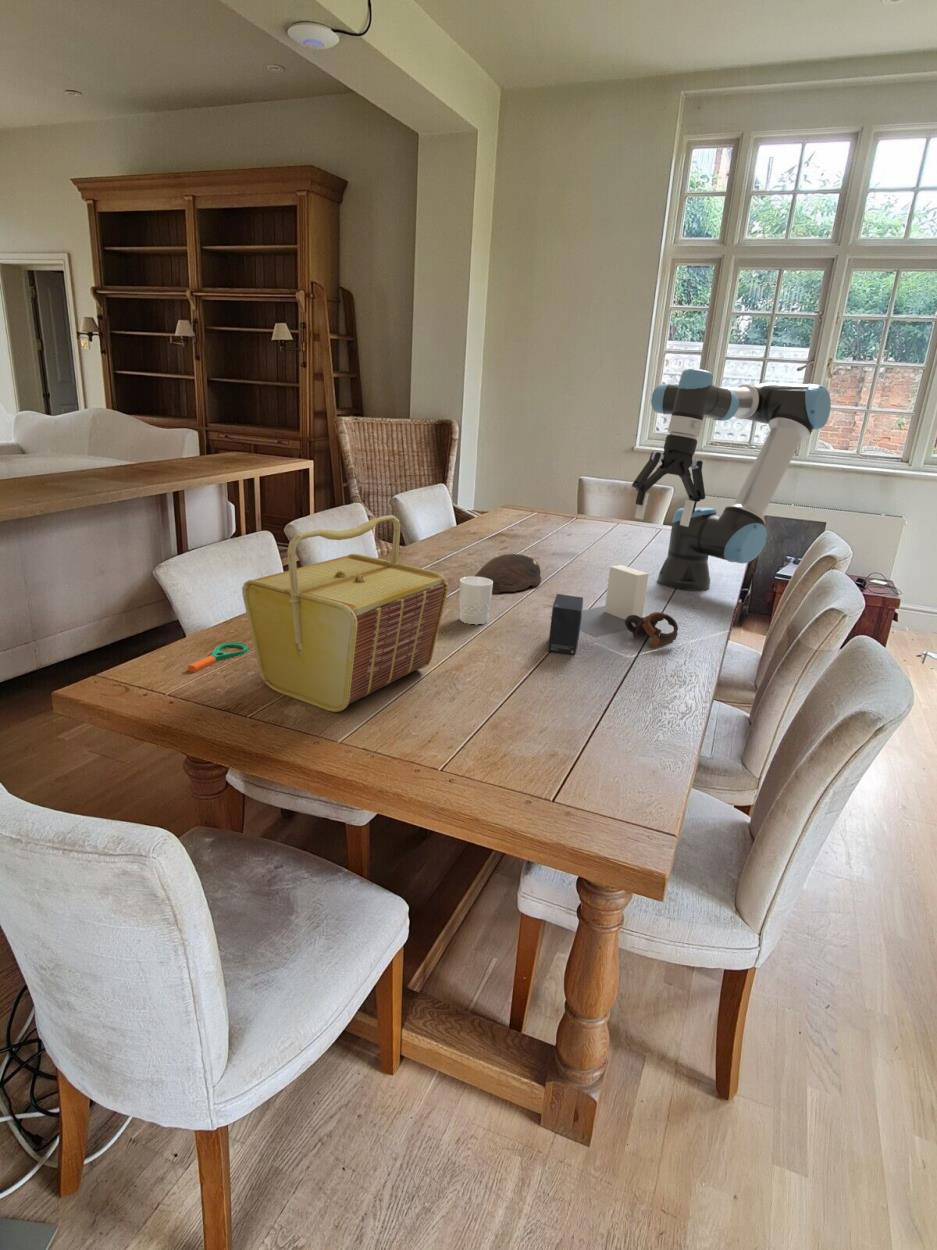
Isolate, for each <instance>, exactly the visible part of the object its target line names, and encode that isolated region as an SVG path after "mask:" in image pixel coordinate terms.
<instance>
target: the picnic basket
mask: <svg viewBox="0 0 937 1250" xmlns="http://www.w3.org/2000/svg"><path fill="white" fill-rule="evenodd" d="M390 521H391V522H392V525H393V533H392V547H391V561H390V560H386V559H381V558H376V557H372V556H367V555H363V554H359V553H350V554H347V555H344V556H341V557H337V558H333V559H327V560H325V561H320V562H318V563H317V562H316V563H312V564H309V565H305V566H301V567H297V556H296V555H297V554H296V550H297V545H298V544H299V543H300V542H301V540H305V539H308V538H314V537H315V538H316V537H321V538H324V539H326V540H332V541H333V540H334V541H341V540H348V539H353V538H356V537H360V536H362V535H364V534H366V533H368V532H370V531H372V529H373V528H375V526H377V525H378V524H381V523H384V522H390ZM400 537H401V524H400V520H399V519H398V518H397V517H396V516H395V515H393V514H392V515H391V514H390V515H383V516H379V517H375V518H372V519H371V520H368V521H365V522H364V523H361V524H360V525H357V526H356V527H353V528H349V529H344V530H332V529H315V530H310V531H308V530H307V531H305V532H300V533H298V534H296V535H294V537H293V538H292V539H291V540H290V541H288V542H289V543H288V547H287V550H286V551H287V563H288V564H287V565H288V570H285V571H283V572H278V573H275V574H274V573H273V574H270V575H267V576H263V577H259V578H256V579H255V578H253V579H249V580H246V581H245V582H244V583H243V585H242V587H241V590H242V591H241V592H242V598H243V599H242V600H243V603H244V608H245V613H246V616H247V617H246V618H247V621H248V626H249V630H250V634H251V640H252V643H253V644H252V645H253V648H254V653H255V657H256V661H257V666H258V671H259V674H260V677H261V679H262V680H263V682H264V683H265V684H266V685H267V686H268V687H269V688H270V689H271V690H273V691H275V692H277V693H279V694H282V695H285V696H286V697H290V698H293V699H295V700H299V701H301V702H304V703H306V704H309V705H312V706H314V707H317V708H320V709H322V710H325V711H327V712H333V713H337V712H338V713H339V712H343V710H345V709H346V708H347V707H348V706H349V705H351V704H352V703H355V702H357V701H358V700H361V699H362V698H364V697H366V696H368V695H370V694H372V693H374V692H376V691H378V690H380V689H381V688H384V687H386V686H387V685H389V684H390V685H391V683H394V682H395V681H397V680H399V679H401V678H403V677H405V676H407V675H408V674H411V673H413V672H415V671H419V670H423V669H425V668H427V666H429V665H430V663H431V662H432V659H433V654H434V651H435V648H436V647H435V646H436V642H437V637H438V633H439V629H440V625H441V621H442V616H443V613H444V609H445V604H446V600H447V596H448V592H449V583H448V581H447V579H446V578H445V576H444V575H442V573H439V572H437V571H435V570H430V569H426V568H422V567H417V566H412V565H408V564H403V563H399V562H398V561H399V550H400Z"/></svg>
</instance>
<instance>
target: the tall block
mask: <svg viewBox="0 0 937 1250" xmlns="http://www.w3.org/2000/svg"><path fill="white" fill-rule="evenodd" d="M648 580H649V573H648V572H645V571H641V570H638V569H635V568H632V567H629V566H627V565H626V566H625V565H623V564H619V565H611V566H609V574H608V583H607V589H606V597H605V605H604V606H605V612H606V613H609V614H612V615H614V616H617V617H619V618H622V619H624V620H625V619H626V618H627V617H628V616H630V615H637V616H639V617H641V618H642V617H644V616H643V615H644V614H643V613H644V607H645V602H646V593H647V587H648Z"/></svg>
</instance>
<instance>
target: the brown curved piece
mask: <svg viewBox="0 0 937 1250" xmlns="http://www.w3.org/2000/svg"><path fill="white" fill-rule="evenodd" d="M643 617H644V618H641V617H639V616H637V615H630V616H628V617H627V618H626V619H625V625H626V627H627V629H628V630H627V631H629V632H630V633H631V634H632V636H633V638H637V637H638V636H642V635H643V636H644V635H648V636H649V637H650V639H651V640H650V642H649V643H648V645H647V646H648V648H651V649H657V648H658V647H663V646H666V645H670V644H673V643H674V641H676V639H677V637H678V630H679V626H678V623H677V621H676V620H675V619H674V618H673V617H672V616H670V615H668V614H667V613H664V612H659V611H655V612H651V613H650V614H649V615H646V616H643ZM664 620H665V621H667V624H668V625H670V626H672V627H673V628H672V629H673V630H672V632H669V633H666V632H665V633H663V632H662V630H661V629H660V628H658V627H656V624H658V623H659V622H662V621H664ZM631 622H633V623H634V624H635V626H633V625H632V623H631Z"/></svg>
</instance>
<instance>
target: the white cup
mask: <svg viewBox="0 0 937 1250" xmlns="http://www.w3.org/2000/svg"><path fill="white" fill-rule="evenodd" d="M492 587H493V581H492V580H491V579H488V578H484V577H476V576H475V575H473V576H471V575H470V576H463V577H461V578H460V579H459V610H460V611H459V620H460V621H462V622H461V623H463V622H464V624H466V623H468V624H467V625H470V624H475V625H474V626H479V625H478V624H482V625H484V624H487V623H488V621H489V618H490V617H489V615H490V611H491V609H490V608H491V603H492V596H493V594H492Z"/></svg>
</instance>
